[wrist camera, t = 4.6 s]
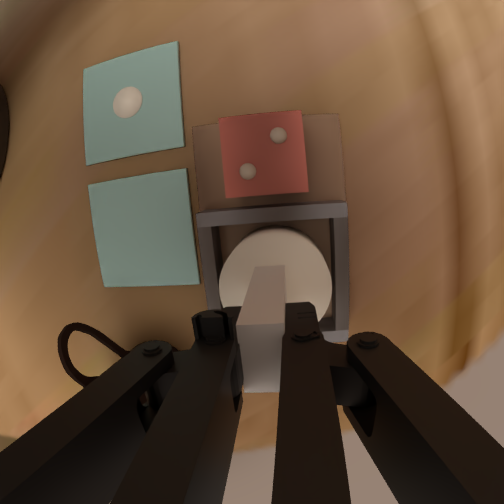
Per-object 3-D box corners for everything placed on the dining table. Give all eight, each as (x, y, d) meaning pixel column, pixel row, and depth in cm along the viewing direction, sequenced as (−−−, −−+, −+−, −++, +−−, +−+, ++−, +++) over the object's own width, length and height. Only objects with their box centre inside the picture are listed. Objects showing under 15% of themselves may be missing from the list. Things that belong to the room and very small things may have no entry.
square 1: (88, 165, 22) (85, 165, 21) (85, 70, 20) (82, 69, 19) (185, 146, 21) (183, 146, 20) (178, 42, 19) (176, 40, 18)
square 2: (106, 285, 24) (104, 287, 23) (90, 184, 22) (87, 185, 22) (200, 282, 23) (199, 284, 22) (187, 168, 21) (185, 168, 21)
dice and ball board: (220, 327, 23) (200, 372, 18) (198, 130, 20) (166, 115, 14) (344, 321, 22) (359, 366, 16) (335, 117, 19) (352, 96, 13)
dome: (234, 319, 21) (226, 341, 18) (223, 228, 20) (212, 237, 17) (326, 315, 20) (332, 337, 17) (323, 221, 19) (330, 230, 16)
